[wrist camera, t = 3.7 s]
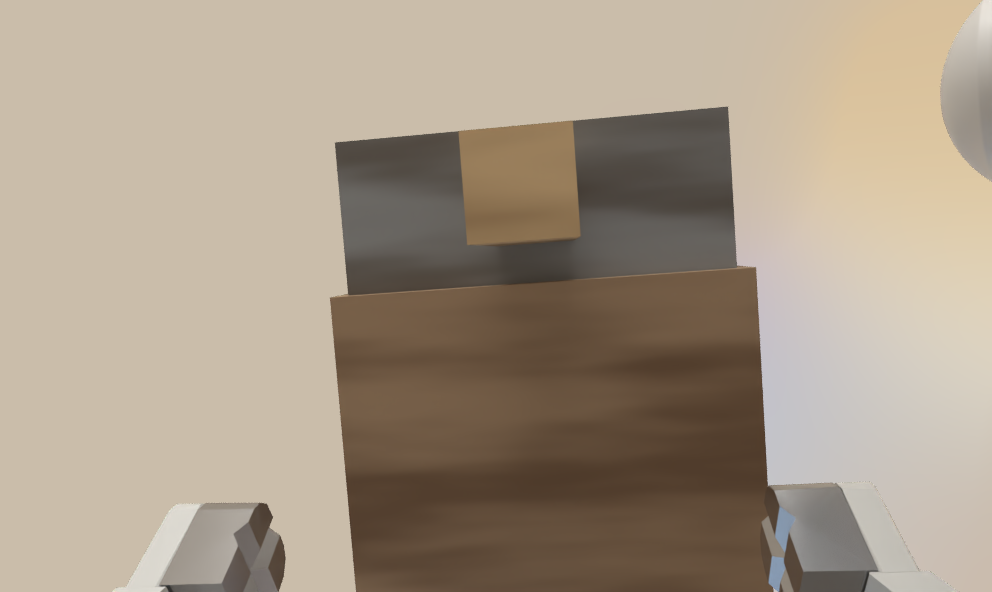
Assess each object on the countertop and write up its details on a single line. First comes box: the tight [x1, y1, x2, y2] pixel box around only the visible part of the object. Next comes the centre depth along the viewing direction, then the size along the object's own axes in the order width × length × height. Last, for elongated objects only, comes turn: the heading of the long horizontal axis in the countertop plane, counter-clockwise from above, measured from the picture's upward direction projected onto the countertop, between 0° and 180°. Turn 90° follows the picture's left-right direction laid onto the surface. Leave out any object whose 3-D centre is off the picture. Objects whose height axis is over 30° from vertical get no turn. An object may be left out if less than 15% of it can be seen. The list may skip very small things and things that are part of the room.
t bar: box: [335, 107, 737, 296], centre depth 25 cm, size 12×15×6 cm
